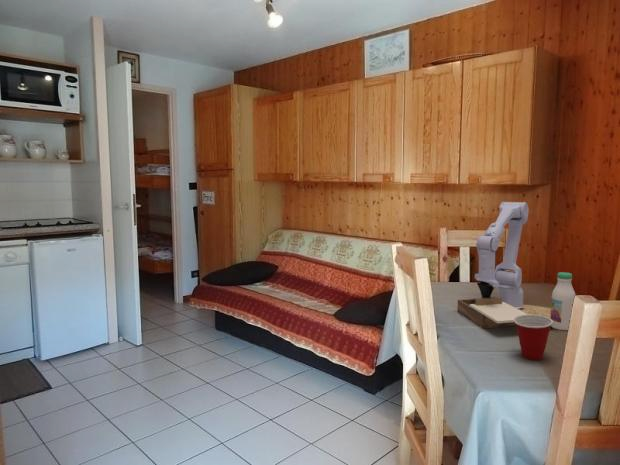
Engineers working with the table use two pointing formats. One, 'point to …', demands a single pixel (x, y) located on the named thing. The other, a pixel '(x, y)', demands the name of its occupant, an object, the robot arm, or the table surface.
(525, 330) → the plastic cup
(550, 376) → the table surface
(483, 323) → the storage box
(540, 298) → the table surface
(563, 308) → the milk bottle
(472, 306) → the lid
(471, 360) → the table surface
